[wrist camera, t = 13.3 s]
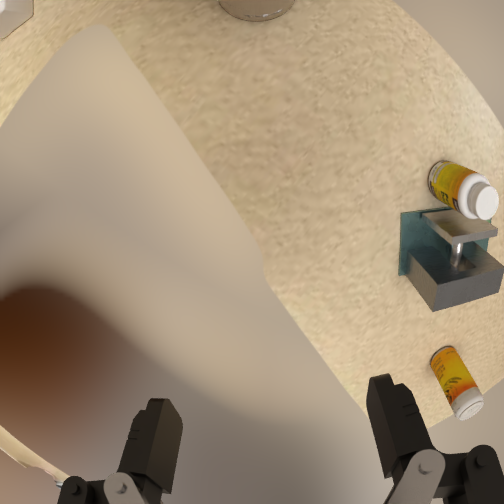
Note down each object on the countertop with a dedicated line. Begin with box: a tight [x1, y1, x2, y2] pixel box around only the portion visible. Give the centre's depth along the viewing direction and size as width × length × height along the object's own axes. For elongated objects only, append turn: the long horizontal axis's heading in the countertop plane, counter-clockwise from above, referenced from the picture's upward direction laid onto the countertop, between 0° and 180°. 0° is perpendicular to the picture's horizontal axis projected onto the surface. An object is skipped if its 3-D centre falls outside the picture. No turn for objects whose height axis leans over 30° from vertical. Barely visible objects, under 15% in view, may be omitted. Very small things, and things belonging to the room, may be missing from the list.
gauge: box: [398, 207, 504, 312], centre depth 33 cm, size 10×18×10 cm, turn 100°
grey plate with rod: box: [422, 209, 498, 271], centre depth 33 cm, size 8×14×8 cm, turn 100°
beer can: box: [431, 347, 484, 421], centre depth 42 cm, size 6×6×15 cm
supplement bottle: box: [429, 161, 499, 220], centre depth 29 cm, size 6×6×10 cm
